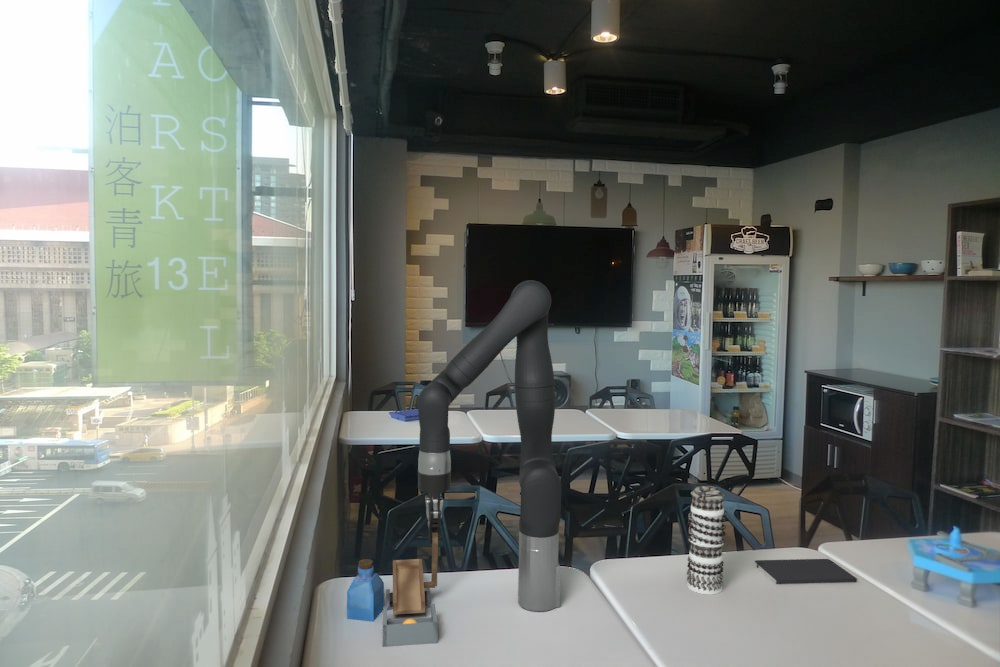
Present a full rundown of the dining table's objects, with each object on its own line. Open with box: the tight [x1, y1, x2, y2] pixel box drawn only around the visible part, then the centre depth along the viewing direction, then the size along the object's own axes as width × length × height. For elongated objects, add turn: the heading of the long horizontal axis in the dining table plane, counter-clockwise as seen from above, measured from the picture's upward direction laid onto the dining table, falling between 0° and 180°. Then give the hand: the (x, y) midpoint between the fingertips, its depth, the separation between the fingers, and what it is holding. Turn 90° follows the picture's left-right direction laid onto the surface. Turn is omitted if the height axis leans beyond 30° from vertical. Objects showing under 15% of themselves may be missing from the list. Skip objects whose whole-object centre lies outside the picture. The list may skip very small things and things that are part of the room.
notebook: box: [754, 558, 858, 585], centre depth 180 cm, size 13×2×21 cm
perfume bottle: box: [346, 558, 385, 623], centre depth 154 cm, size 6×6×12 cm
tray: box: [382, 603, 439, 648], centre depth 145 cm, size 11×10×4 cm
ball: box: [403, 618, 417, 624], centre depth 144 cm, size 4×4×4 cm
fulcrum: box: [385, 588, 431, 611], centre depth 159 cm, size 10×5×3 cm, turn 99°
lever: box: [392, 532, 439, 616], centre depth 157 cm, size 10×17×14 cm, turn 9°
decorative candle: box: [686, 485, 728, 596], centre depth 169 cm, size 9×9×25 cm
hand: (433, 542), depth 160 cm, fingers closed
